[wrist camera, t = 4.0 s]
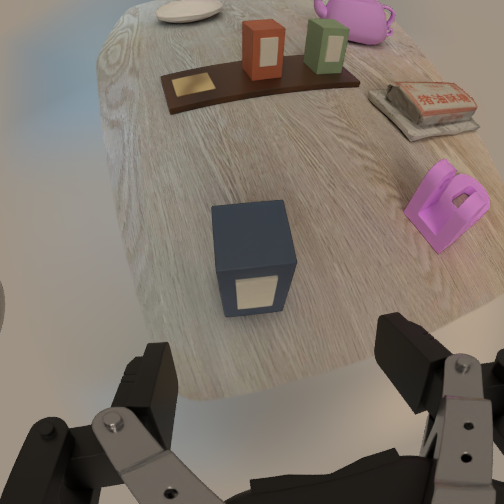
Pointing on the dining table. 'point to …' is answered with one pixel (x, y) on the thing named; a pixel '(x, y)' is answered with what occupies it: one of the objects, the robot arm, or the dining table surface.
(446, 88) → the packaged product
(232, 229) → the navy box with label
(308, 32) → the green block
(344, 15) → the teapot
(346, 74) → the brown board
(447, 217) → the bracket
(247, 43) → the orange block
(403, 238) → the dining table surface
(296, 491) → the robot arm
